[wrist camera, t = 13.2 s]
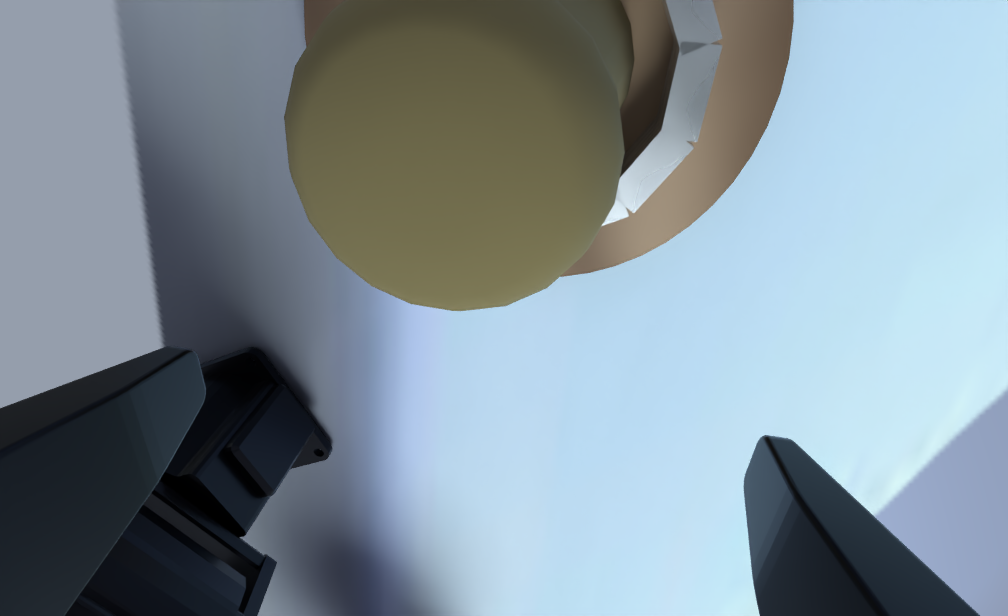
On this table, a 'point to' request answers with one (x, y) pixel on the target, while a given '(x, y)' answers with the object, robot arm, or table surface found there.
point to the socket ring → (673, 105)
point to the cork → (460, 141)
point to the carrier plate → (725, 128)
